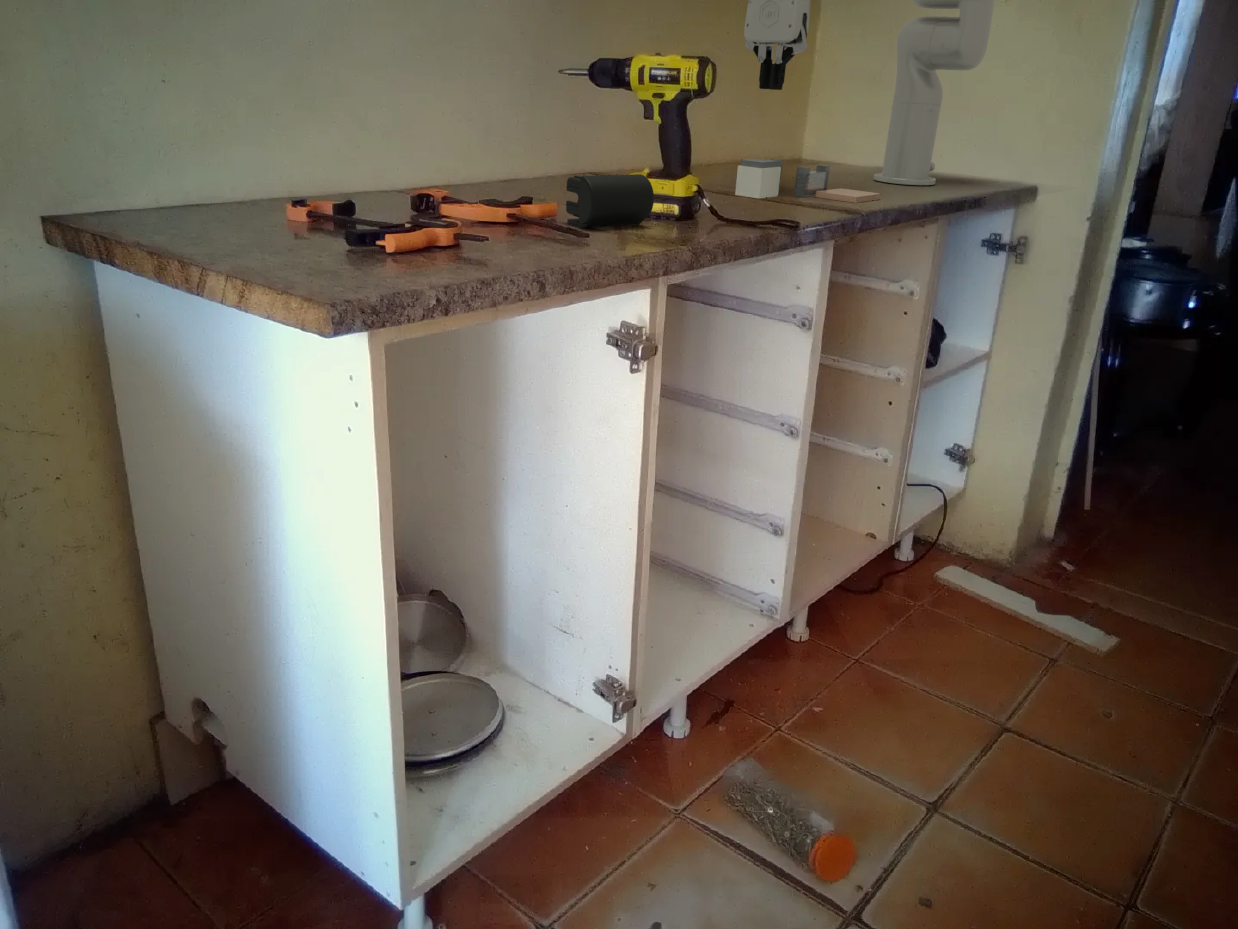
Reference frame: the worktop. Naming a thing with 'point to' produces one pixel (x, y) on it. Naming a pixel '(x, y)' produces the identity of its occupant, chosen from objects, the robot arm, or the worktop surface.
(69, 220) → the worktop surface
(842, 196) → the pad
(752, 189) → the white box with lid
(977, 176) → the worktop surface
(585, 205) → the end cap
